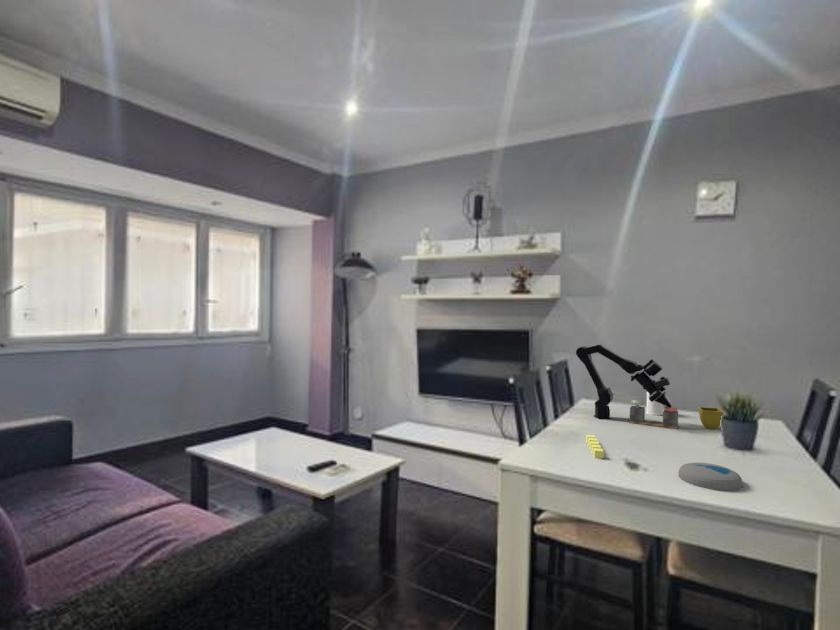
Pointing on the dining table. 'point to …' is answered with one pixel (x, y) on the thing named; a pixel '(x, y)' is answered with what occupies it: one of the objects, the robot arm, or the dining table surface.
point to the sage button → (637, 402)
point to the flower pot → (710, 417)
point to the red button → (670, 409)
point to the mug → (654, 407)
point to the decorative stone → (710, 476)
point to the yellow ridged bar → (594, 446)
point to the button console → (668, 421)
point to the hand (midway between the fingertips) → (670, 406)
